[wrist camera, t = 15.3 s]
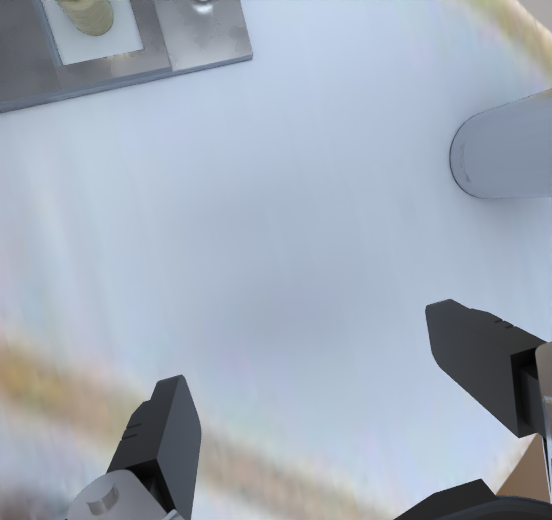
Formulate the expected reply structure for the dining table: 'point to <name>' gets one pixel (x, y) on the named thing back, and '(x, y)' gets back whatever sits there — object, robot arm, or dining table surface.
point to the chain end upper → (74, 77)
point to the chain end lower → (188, 38)
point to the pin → (89, 15)
